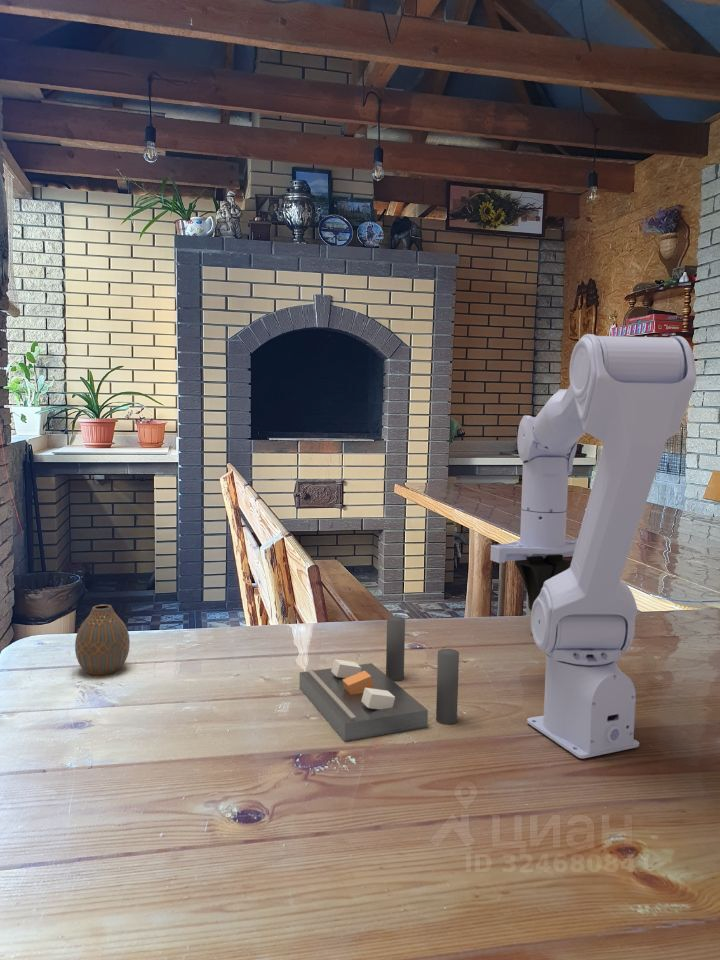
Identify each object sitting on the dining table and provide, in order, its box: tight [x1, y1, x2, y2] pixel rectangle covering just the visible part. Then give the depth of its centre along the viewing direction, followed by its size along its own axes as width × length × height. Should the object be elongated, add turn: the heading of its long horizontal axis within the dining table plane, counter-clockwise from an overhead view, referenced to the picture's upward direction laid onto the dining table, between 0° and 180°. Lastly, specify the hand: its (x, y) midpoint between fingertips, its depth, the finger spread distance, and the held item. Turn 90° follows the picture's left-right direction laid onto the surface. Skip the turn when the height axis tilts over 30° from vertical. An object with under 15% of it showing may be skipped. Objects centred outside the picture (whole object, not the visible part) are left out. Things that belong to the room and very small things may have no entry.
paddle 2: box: [361, 688, 395, 709], centre depth 80 cm, size 2×3×2 cm, turn 112°
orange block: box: [342, 671, 374, 695], centre depth 84 cm, size 2×3×2 cm, turn 112°
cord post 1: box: [385, 616, 406, 682], centre depth 94 cm, size 2×2×8 cm
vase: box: [74, 604, 131, 676], centre depth 95 cm, size 7×7×9 cm
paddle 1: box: [331, 658, 361, 678], centre depth 89 cm, size 2×3×2 cm, turn 112°
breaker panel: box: [299, 662, 429, 742], centre depth 85 cm, size 16×10×2 cm, turn 22°
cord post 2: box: [435, 648, 460, 725], centre depth 81 cm, size 2×2×8 cm
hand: (539, 612), depth 93 cm, fingers closed
